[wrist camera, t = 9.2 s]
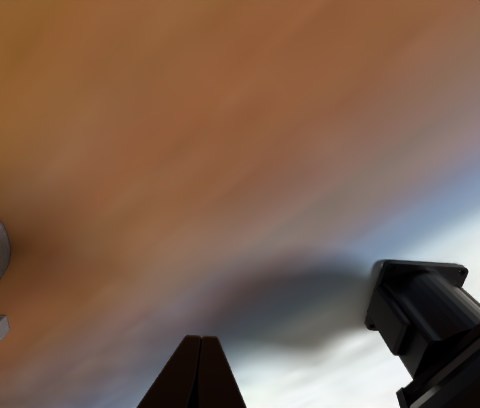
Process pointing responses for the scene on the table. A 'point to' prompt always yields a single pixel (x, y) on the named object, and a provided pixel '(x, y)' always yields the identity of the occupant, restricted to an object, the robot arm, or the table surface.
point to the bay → (3, 326)
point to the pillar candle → (4, 250)
